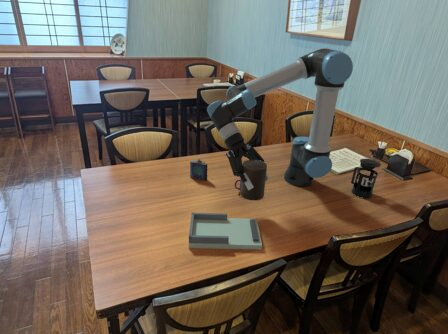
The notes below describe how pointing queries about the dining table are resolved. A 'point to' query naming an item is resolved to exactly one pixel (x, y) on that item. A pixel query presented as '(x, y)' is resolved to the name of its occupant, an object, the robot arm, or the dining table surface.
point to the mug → (240, 185)
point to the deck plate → (223, 232)
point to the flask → (198, 170)
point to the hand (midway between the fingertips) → (259, 184)
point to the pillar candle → (254, 179)
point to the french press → (363, 182)
